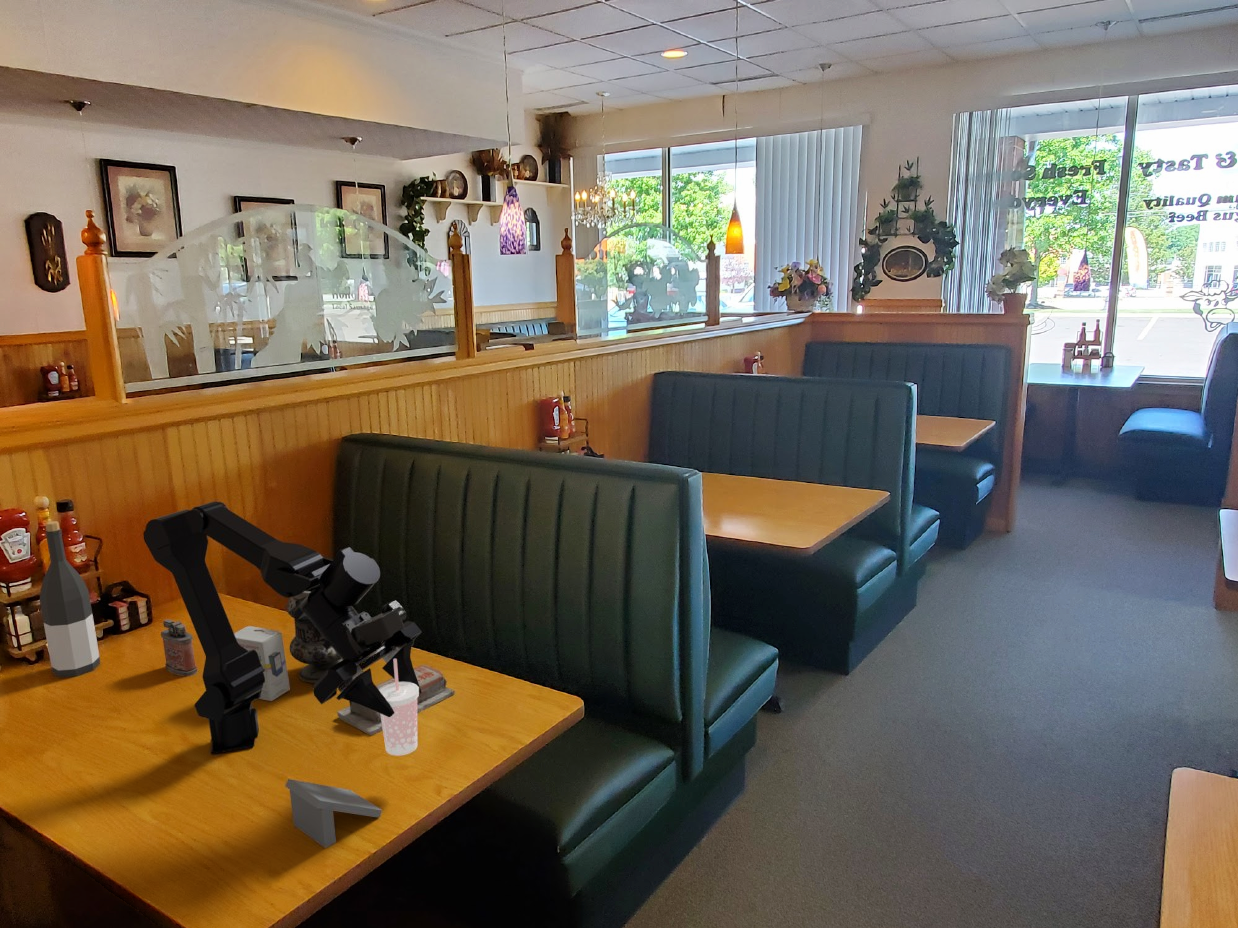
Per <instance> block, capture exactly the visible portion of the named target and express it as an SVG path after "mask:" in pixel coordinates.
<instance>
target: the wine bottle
mask: <svg viewBox="0 0 1238 928" xmlns="http://www.w3.org/2000/svg"><path fill="white" fill-rule="evenodd" d="M45 529H46V530H45V531H44V534H45V537H46V541H47V542H46V543H47V548H48V553H49V560H50V563H49V566H48V568H47V570H46V572H45V575H44V576H43V579H42V583H41V586H40V587H41V588H40V590H39V591H40V594H39V605H40V610H41V615H42V621H43V626H44V633H45V637H46V643H47V648H48V654H49V660H50V661H49V662H50V666H51V667H50V668H51V671H52V673H53V675H55V676H57V677H58V678H72V677H74V678H75V677H78V676H81V675H84V674H87V673H91V672H93V671H95V670H96V668H97V667H98V666H99V665H100V664H101V659H100V651H99V647H98V646H99V645H98V640H97V639H98V638H97V633H96V628H95V622H94V616H93V609H92V603H91V597H90V593H89V588H88V587H87V585H86V583H85V580H84V579H83V578H82V576H81V575H80V573H79V572H78V571H77V570H76V569H75V568H74V566H72V565H71V563H70V562H69V561H68V559H67V557H66V551H65V546H64V541H63V533H62V528H60V523H59V521H48V522H46V523H45Z"/></svg>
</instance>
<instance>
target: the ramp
mask: <svg viewBox="0 0 1238 928" xmlns="http://www.w3.org/2000/svg"><path fill="white" fill-rule="evenodd" d="M284 787H286V788H287V789H288V790H289V796H290V797H289V798H290V803H291V813H292V814H291V815H292V821H293V826H294V827H295V828H297V829H298V830H300V831H301V832H303V834H305V835H307V836H308V837H310V838H311V839H312V840H313V841H315V842H317V844H319V845H320V846H322V847H323V848H324V849H327V848H328V847H330V846H332V845H334V844H336V843H337V839H336V837H337V836H336V829H335V827H336V826H335V821H334V820H335V818H334V812H340V813H347V814H354V815H359V816H367V817H373V818H380V817H381V815H382V812H383V810H382V809H381V808H380V807H378V806H377V805H375V804H373V803H371V802H370V801H368V800H367V799H365V798H363V796H360V795H359V794H357V793H356V792H354V791H352V790H351V789H346V788H341V787H335V786H331V785H330V786H329V785H325V784H319V783H314V782H313V783H312V782H306V781H301V780H296V779H290V778H288V779H287V781H286V783H285V785H284Z"/></svg>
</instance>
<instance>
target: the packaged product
mask: <svg viewBox="0 0 1238 928" xmlns="http://www.w3.org/2000/svg"><path fill="white" fill-rule="evenodd" d="M413 669H414V672H415V675H416V677H417V680H418V683H419V686H420V689H421V691H422V693H421V694H420V695H419V696H418V697H417V714H419V713H421V712H423V711H425V710H426V709H428V708H430V707H432V706H434V705H436V704H438V703H440V702H441V701H443V700H445V699H447V698H450V697H451V696H454V695H455V693H456V691H455V690H454V689H452V688H449V687H446V686H447V684H448V683H447V679H446V677H444V674H443V673H442V672H441V670H440V669H436V668H434V667H432V666H429V665H426V664H422V665H420V666H417V667H413ZM394 682H395V679H394V678H393V677H391V678H389V679H387V680H385V681H383V682H381V683H378V684H375V686H376V687H377V688H378V690H379V689H380V688H381V687H383V686H385V685H387V684H390V683H394ZM348 702H349V706H346V707H345V708H342V709H340V710H337V713H336V714H337V716H338V719H340V720H341V721H344V723H346V724H348V725H350V726H352V727H354V728H356V729H358V730H360V731H361V732H363V733H366V734H368V735H369V734H370V736H374V735H376V734H378V733H380V732H382V731H383V728H382V722H381V715H380V713H378V712H376V711H374V710H372V709H369V708H367V707H365V706H362V705H360V704H357V703H354V702H351V701H348ZM422 710H423V711H422ZM381 730H382V731H381ZM375 733H376V734H375Z"/></svg>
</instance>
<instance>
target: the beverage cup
mask: <svg viewBox="0 0 1238 928" xmlns="http://www.w3.org/2000/svg"><path fill="white" fill-rule="evenodd" d="M393 661H394V674H395V682H394V683H390V684H387V685H385V686H383V687H381V688H380V689H379V691H380V692H381V693H382V695H383V696H384V697H385V699H386V700H387V701H388V703H389V704H390V706H391V707H392V709H393V711H394V714H393V715H392V716H391V717H387V716H385V715H383V714H380V715H381V722H382V728H383V730H382V733H383V739H384V745H385V746H384V747H385V748H384V749H385V752H386V753H387V754H389V755H391V756H397V757H399V756H405V755H409V754H411V753H413V752H414V751H416V749H418V739H419V738H418V735H419V734H418V733H419V731H418V713H417V697H418V696H419V687H418V686H417V685H416V684H414V683H411V682H398V669H397V659H393Z"/></svg>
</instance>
